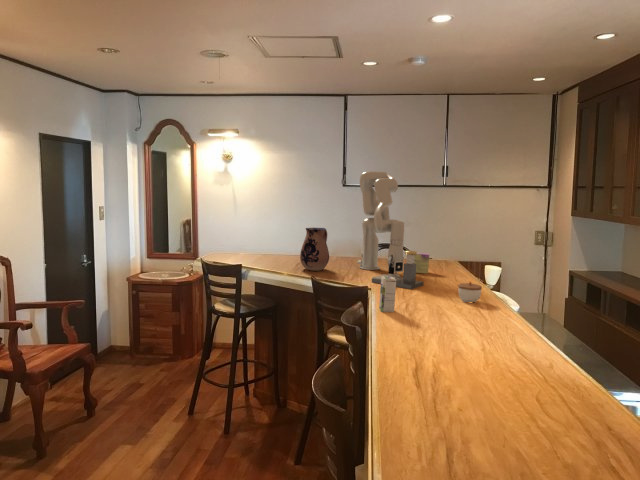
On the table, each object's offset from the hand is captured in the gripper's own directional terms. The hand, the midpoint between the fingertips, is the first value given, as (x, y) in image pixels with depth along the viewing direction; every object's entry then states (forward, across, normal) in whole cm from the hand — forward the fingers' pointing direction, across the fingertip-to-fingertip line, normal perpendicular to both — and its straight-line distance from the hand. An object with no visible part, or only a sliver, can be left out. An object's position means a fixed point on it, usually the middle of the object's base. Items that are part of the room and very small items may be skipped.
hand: (395, 272), depth 299 cm
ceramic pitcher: (+3, +15, -46) cm, 49 cm away
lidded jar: (+3, +25, +54) cm, 59 cm away
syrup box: (+3, +68, +34) cm, 76 cm away
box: (+3, -25, +3) cm, 25 cm away
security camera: (+3, 0, 0) cm, 3 cm away
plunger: (-4, +15, +17) cm, 23 cm away
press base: (+3, +15, +10) cm, 18 cm away
